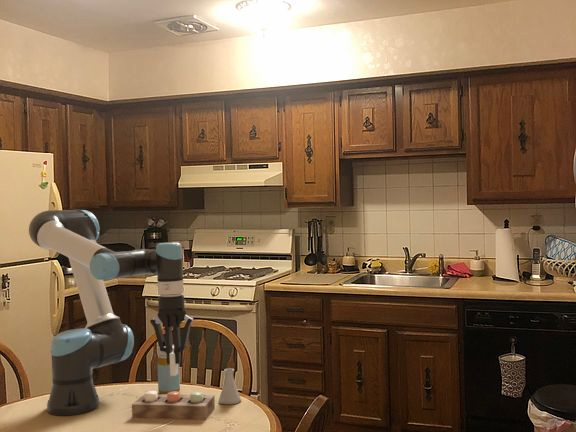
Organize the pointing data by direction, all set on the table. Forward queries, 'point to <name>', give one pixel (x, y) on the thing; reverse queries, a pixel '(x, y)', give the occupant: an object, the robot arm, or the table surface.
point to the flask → (229, 389)
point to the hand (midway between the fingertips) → (174, 374)
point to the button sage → (196, 397)
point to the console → (173, 408)
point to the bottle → (166, 375)
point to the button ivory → (151, 396)
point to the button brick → (173, 396)
